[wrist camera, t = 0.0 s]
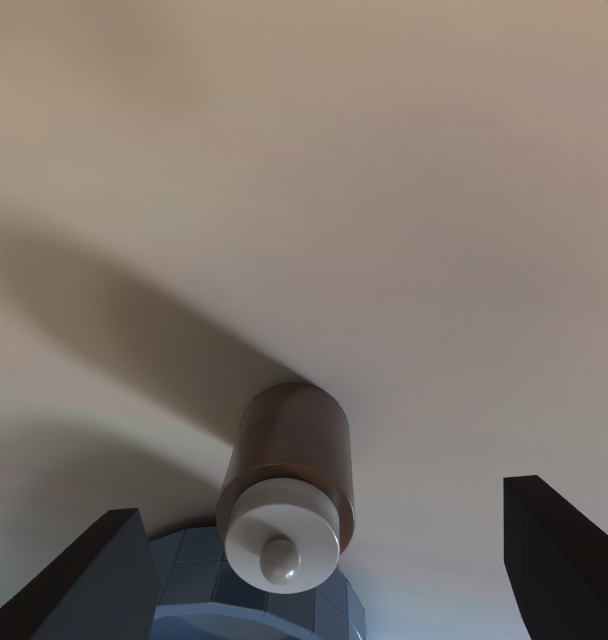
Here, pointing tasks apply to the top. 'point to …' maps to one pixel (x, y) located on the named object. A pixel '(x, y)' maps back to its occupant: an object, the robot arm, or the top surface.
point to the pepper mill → (288, 490)
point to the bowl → (241, 598)
